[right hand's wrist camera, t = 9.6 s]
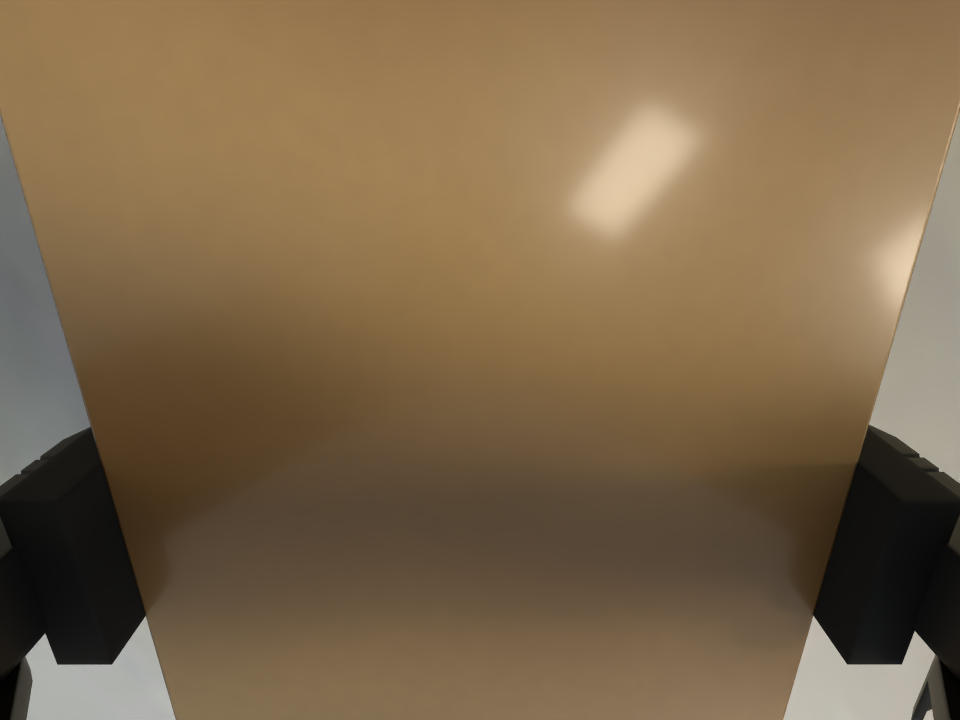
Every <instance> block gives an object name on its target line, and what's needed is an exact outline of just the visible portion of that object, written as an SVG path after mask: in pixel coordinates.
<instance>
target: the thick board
mask: <svg viewBox="0 0 960 720" xmlns="http://www.w3.org/2000/svg"><path fill="white" fill-rule="evenodd" d="M959 112H960V0H0V115H1V118H2V122H3V125H4V129H5V132H6V136H7V139H8V142H9V146H10V149H11V153H12V156H13V160H14V163H15V167H16V170H17V173H18V177H19V180H20V184H21V187H22V191H23V194H24V198H25V201H26V204H27V208H28V211H29V215H30V218H31V222H32V225H33V229H34V232H35V235H36V239H37V242H38V246H39V249H40V253H41V256H42V260H43V263H44V266H45V270H46V273H47V277H48V280H49V284H50V287H51V291H52V294H53V297H54V301H55V304H56V308H57V311H58V315H59V318H60V322H61V325H62V329H63V332H64V335H65V339H66V342H67V346H68V349H69V353H70V356H71V360H72V363H73V366H74V370H75V373H76V377H77V380H78V384H79V387H80V391H81V394H82V397H83V401H84V404H85V408H86V411H87V415H88V418H89V422H90V425H91V428H92V432H93V435H94V439H95V442H96V446H97V449H98V453H99V456H100V459H101V463H102V466H103V470H104V473H105V477H106V480H107V484H108V487H109V491H110V494H111V497H112V501H113V504H114V508H115V511H116V515H117V518H118V522H119V525H120V528H121V532H122V535H123V539H124V542H125V546H126V549H127V553H128V556H129V559H130V563H131V566H132V570H133V573H134V577H135V580H136V584H137V587H138V590H139V594H140V597H141V601H142V604H143V608H144V611H145V615H146V618H147V621H148V625H149V628H150V632H151V635H152V639H153V642H154V646H155V649H156V652H157V656H158V659H159V663H160V666H161V670H162V673H163V677H164V680H165V684H166V687H167V690H168V694H169V697H170V701H171V704H172V708H173V711H174V715H175V718H176V720H783V718H784V715H785V711H786V708H787V704H788V701H789V697H790V694H791V690H792V687H793V684H794V680H795V677H796V673H797V670H798V666H799V663H800V659H801V656H802V653H803V649H804V646H805V642H806V639H807V635H808V632H809V628H810V625H811V622H812V618H813V615H814V611H815V608H816V604H817V601H818V597H819V594H820V591H821V587H822V584H823V580H824V577H825V573H826V570H827V566H828V563H829V560H830V556H831V553H832V549H833V546H834V542H835V539H836V535H837V532H838V529H839V525H840V522H841V518H842V515H843V511H844V508H845V504H846V501H847V498H848V494H849V491H850V487H851V484H852V480H853V477H854V473H855V470H856V467H857V463H858V460H859V456H860V453H861V449H862V446H863V442H864V439H865V436H866V432H867V429H868V425H869V422H870V418H871V415H872V411H873V408H874V405H875V401H876V398H877V394H878V391H879V387H880V384H881V380H882V377H883V374H884V370H885V367H886V363H887V360H888V356H889V353H890V349H891V346H892V343H893V339H894V336H895V332H896V329H897V325H898V322H899V318H900V315H901V312H902V308H903V305H904V301H905V298H906V294H907V291H908V287H909V284H910V280H911V277H912V274H913V270H914V267H915V263H916V260H917V256H918V253H919V249H920V246H921V243H922V239H923V236H924V232H925V229H926V225H927V222H928V218H929V215H930V212H931V208H932V205H933V201H934V198H935V194H936V191H937V187H938V184H939V181H940V177H941V174H942V170H943V167H944V163H945V160H946V156H947V153H948V150H949V146H950V143H951V139H952V136H953V132H954V129H955V125H956V122H957V119H958V115H959Z"/></svg>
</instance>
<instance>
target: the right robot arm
mask: <svg viewBox="0 0 960 720" xmlns="http://www.w3.org/2000/svg"><path fill="white" fill-rule="evenodd" d="M145 616H146V615H145V611H144V608H143V604H142V601H141V597H140V594H139V590H138V587H137V584H136V580H135V577H134V573H133V570H132V566H131V563H130V559H129V556H128V553H127V549H126V546H125V542H124V539H123V535H122V532H121V528H120V525H119V522H118V518H117V515H116V511H115V508H114V504H113V501H112V497H111V494H110V491H109V487H108V484H107V480H106V477H105V473H104V470H103V466H102V463H101V459H100V456H99V453H98V449H97V446H96V442H95V439H94V435H93V432H92V428H91V427H90V428H87V429H85V430H83V431H81V432H79V433H77V434H75V435H72V436H70V437H68V438H66V439H64V440H62V441H61V442H60V443H58V444H57V445H56V446H54V447H53V448H51V449H50V450H49V451H47V452H46V453H45V454H43V455H42V456H41V459H40V460H35V461H34V462H32V463H31V464H30V465H28V466H27V467H26V468H24V469H23V470H22V471H21V474H16V475H15V476H13V477H12V478H11V479H9V480H8V481H7V482H5V483H4V484H3V485H1V486H0V720H26V718H27V712H28V706H29V700H30V694H31V687H32V675H31V670H30V667H29V665H28V662H27V660H26V657H25V656H26V655H27V653H28V652H29V651H30V650H31V649H32V648H33V646H34V645H35V644H36V643H37V642H38V641H39V640H40V638H41V637H42V636H43V635H44V634H45V633H46V636H47V639H48V641H49V644H50V646H51V649H52V651H53V654H54V657H55V659H56V662H57V664H113V662H114V661H115V659H116V658H117V656H118V655H119V654H120V652H121V651H122V649H123V648H124V646H125V645H126V643H127V642H128V641H129V639H130V638H131V636H132V635H133V633H134V632H135V630H136V629H137V628H138V626H139V625H140V623H141V622H142V620H143V619H144V617H145ZM814 617H815V618H816V620H817V621H818V623H819V624H820V626H821V627H822V628H823V630H824V631H825V633H826V634H827V636H828V637H829V639H830V640H831V641H832V643H833V644H834V646H835V647H836V649H837V650H838V652H839V653H840V654H841V656H842V657H843V659H844V660H845V662H846V663H847V664H902V662H903V660H904V657H905V655H906V652H907V649H908V647H909V644H910V642H911V639H912V636H913V634H914V631H916V632H917V634H918V635H919V636H920V637H921V638H922V639H923V640H924V642H925V643H926V644H927V645H928V646H929V647H930V649H931V650H932V651H933V652H934V653H935V654H936V655H935V657H934V660H933V662H932V665H931V667H930V669H929V672H928V674H927V677H926V679H925V681H924V684H923V686H922V689H921V691H920V694H919V696H918V698H917V701H916V703H915V706H914V708H913V713H912V719H911V720H923V719H924V716H925V714H926V712H927V711H928V710H931V709H932V710H933V716H934V720H960V484H959V483H958V482H957V481H955V480H954V479H953V478H951V477H950V476H948V475H947V474H946V473H944V472H939V468H938V467H936V466H935V465H933V464H932V463H931V462H929V461H928V460H927V459H925V458H920V457H919V454H918V453H917V452H916V451H914V450H913V449H911V448H910V447H909V446H907V445H906V444H905V443H903V442H902V441H901V440H899V439H898V438H896V437H894V436H892V435H890V434H888V433H886V432H883V431H881V430H879V429H877V428H875V427H873V426H870V425H868V429H867V432H866V436H865V439H864V442H863V446H862V449H861V453H860V456H859V460H858V463H857V467H856V470H855V473H854V477H853V480H852V484H851V487H850V491H849V494H848V498H847V501H846V504H845V508H844V511H843V515H842V518H841V522H840V525H839V529H838V532H837V535H836V539H835V542H834V546H833V549H832V553H831V556H830V560H829V563H828V566H827V570H826V573H825V577H824V580H823V584H822V587H821V591H820V594H819V597H818V601H817V604H816V608H815V611H814Z"/></svg>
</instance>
